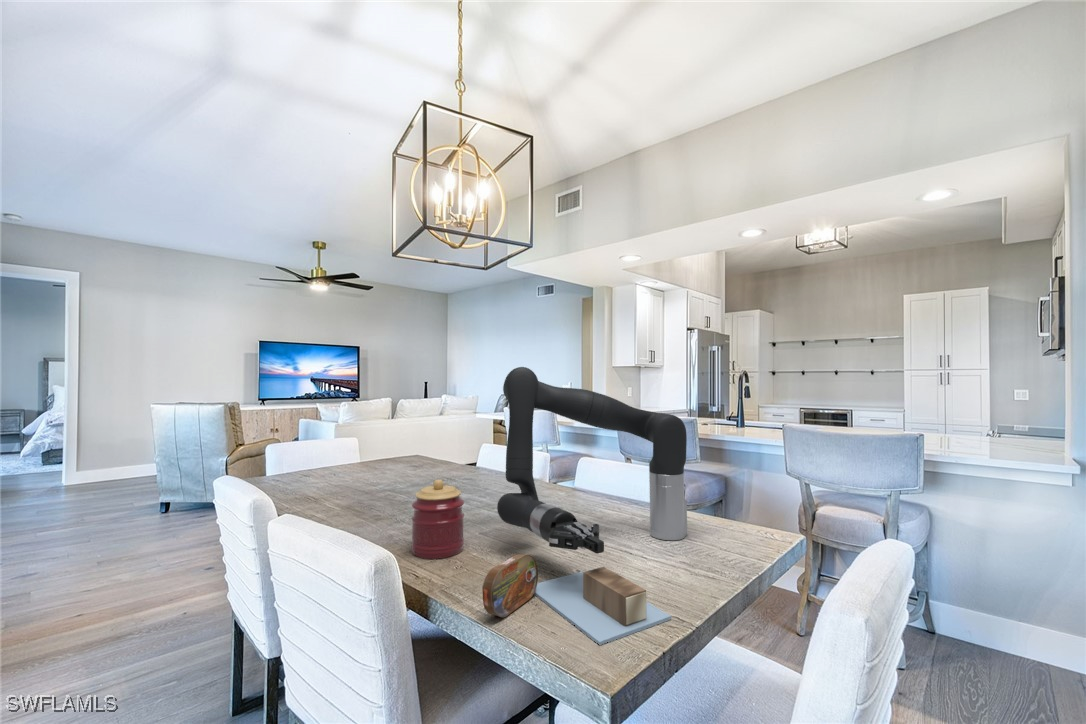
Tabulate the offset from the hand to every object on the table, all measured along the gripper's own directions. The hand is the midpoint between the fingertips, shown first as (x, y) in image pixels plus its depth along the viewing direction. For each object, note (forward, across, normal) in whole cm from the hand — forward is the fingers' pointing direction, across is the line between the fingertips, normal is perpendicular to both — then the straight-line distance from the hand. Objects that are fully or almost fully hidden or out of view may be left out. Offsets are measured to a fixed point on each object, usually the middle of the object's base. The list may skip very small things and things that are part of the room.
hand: (601, 547), depth 89 cm
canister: (-44, -18, +11) cm, 49 cm away
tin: (-8, -15, +11) cm, 20 cm away
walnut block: (-2, 0, +7) cm, 8 cm away
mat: (-1, -1, +10) cm, 11 cm away
